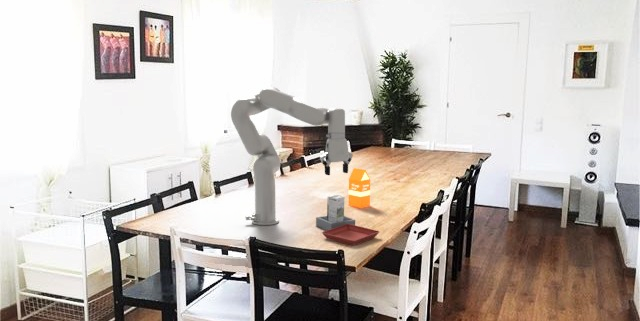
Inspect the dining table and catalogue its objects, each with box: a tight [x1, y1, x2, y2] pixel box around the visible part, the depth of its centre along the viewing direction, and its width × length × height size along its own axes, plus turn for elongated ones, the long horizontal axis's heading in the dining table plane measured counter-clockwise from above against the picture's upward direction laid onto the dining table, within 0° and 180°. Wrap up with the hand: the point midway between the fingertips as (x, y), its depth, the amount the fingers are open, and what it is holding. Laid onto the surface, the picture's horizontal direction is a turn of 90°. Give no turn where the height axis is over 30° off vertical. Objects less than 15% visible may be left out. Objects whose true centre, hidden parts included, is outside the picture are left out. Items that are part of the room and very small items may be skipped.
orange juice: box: [348, 167, 371, 209], centre depth 291 cm, size 8×9×20 cm
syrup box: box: [326, 194, 345, 223], centre depth 248 cm, size 6×6×14 cm
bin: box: [315, 215, 356, 231], centre depth 249 cm, size 13×13×4 cm
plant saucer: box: [321, 224, 380, 246], centre depth 232 cm, size 18×18×3 cm
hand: (336, 173), depth 246 cm, fingers open, 9 cm apart
